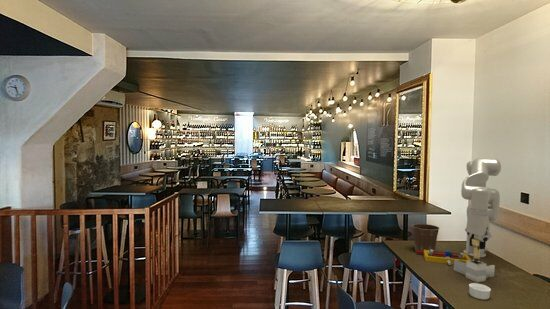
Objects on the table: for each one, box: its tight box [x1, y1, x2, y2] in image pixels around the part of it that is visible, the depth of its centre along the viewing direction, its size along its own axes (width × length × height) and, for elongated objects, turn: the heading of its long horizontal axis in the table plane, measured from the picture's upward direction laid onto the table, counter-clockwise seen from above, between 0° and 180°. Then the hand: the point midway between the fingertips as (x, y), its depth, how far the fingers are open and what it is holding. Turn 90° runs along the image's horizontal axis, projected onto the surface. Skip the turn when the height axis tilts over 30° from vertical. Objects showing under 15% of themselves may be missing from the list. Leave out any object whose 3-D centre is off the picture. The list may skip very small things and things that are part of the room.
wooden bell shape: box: [472, 238, 481, 261], centre depth 185 cm, size 5×5×11 cm
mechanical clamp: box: [415, 250, 472, 266], centre depth 213 cm, size 18×6×30 cm
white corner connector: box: [453, 259, 496, 283], centre depth 192 cm, size 16×16×9 cm
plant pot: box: [411, 223, 440, 253], centre depth 230 cm, size 16×16×16 cm
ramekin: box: [468, 282, 492, 300], centre depth 166 cm, size 9×9×4 cm
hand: (477, 246), depth 185 cm, fingers closed on wooden bell shape, 5 cm apart
